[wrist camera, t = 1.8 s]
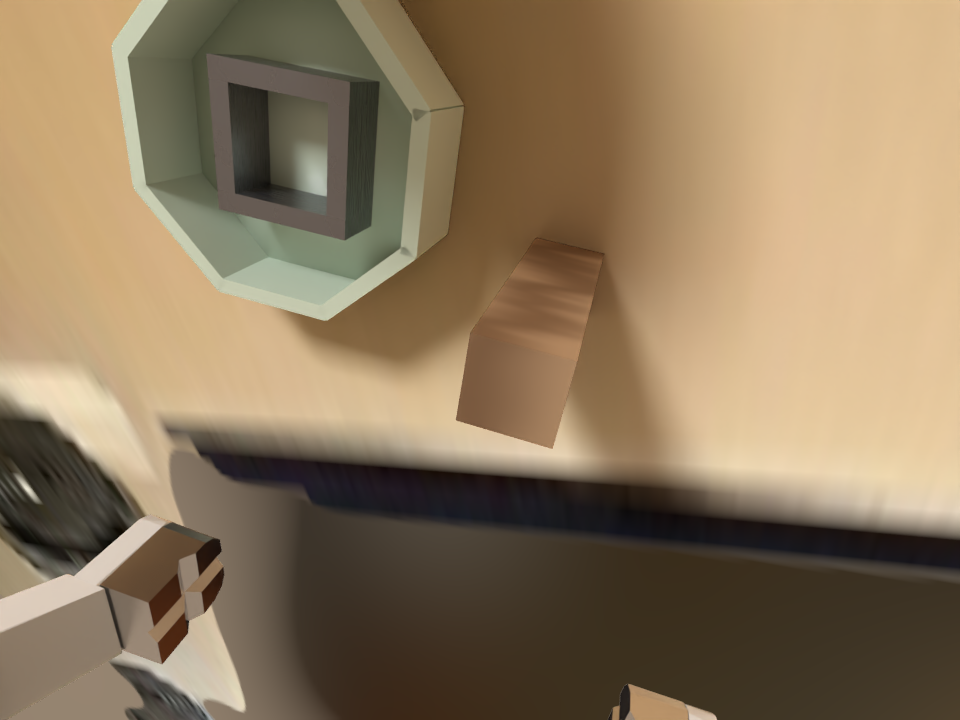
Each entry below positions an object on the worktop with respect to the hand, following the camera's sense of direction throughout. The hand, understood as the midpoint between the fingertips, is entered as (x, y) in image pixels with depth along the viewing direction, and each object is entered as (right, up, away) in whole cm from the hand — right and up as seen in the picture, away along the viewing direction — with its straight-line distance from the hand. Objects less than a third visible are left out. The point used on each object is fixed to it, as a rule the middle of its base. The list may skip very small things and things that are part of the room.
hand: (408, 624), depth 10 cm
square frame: (-7, +16, +18) cm, 25 cm away
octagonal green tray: (-7, +16, +18) cm, 25 cm away
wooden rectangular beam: (+6, +9, +18) cm, 21 cm away
